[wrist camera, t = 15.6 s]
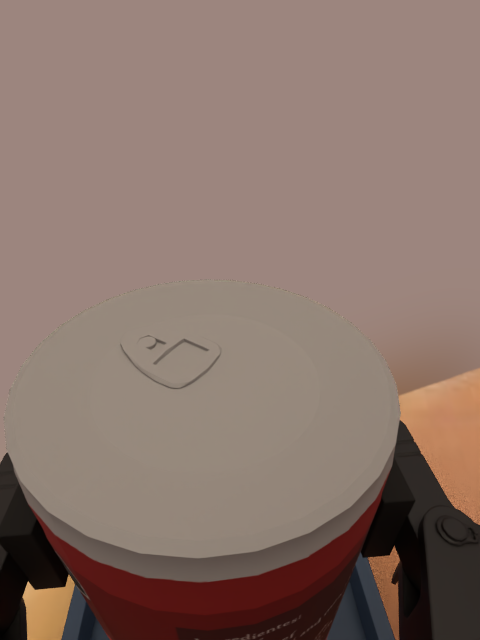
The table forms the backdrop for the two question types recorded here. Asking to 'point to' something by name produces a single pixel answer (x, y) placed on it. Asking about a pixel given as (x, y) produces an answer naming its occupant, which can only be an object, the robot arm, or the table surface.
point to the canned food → (206, 458)
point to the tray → (344, 636)
